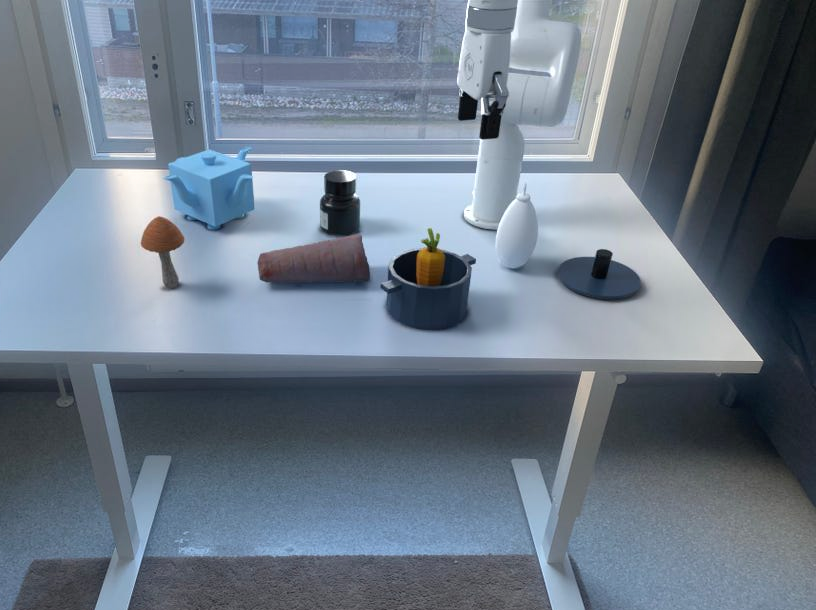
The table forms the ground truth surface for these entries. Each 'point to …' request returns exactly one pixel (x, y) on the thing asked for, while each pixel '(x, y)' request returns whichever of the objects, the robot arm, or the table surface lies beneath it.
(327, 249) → the food
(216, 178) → the teakettle
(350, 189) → the ink bottle
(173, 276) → the mushroom
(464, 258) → the saucepan
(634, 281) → the saucepan lid
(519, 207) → the white egg-shaped bulb
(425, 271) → the carrot
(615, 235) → the table surface
